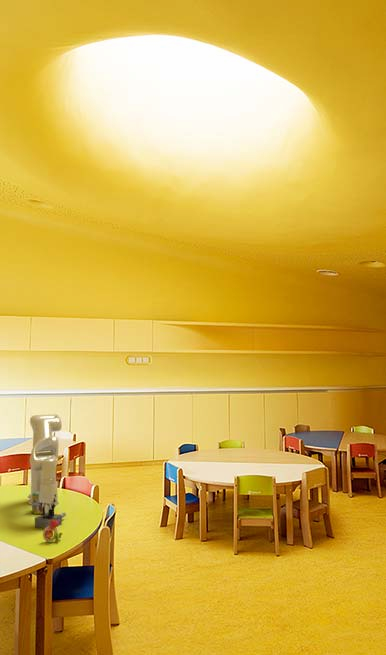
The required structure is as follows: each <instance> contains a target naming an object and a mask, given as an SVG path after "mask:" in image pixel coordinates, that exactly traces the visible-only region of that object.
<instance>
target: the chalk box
mask: <svg viewBox="0 0 386 655" xmlns="http://www.w3.org/2000/svg"><path fill="white" fill-rule="evenodd" d="M39 489H40V488H39ZM52 505H53V504H52ZM31 506H32V507H31V509H32V511H31V514H32V515H43V508H42V505H41V503H40V502H39V491H38V492H36V493H34V494H32V505H31Z"/></svg>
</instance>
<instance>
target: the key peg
mask: <svg viewBox="0 0 386 655" xmlns="http://www.w3.org/2000/svg"><path fill="white" fill-rule="evenodd" d="M49 509H50V505H49V504H46V503H45V517H44V518H51V517H52V516H51V517H49Z"/></svg>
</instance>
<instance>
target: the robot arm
mask: <svg viewBox="0 0 386 655" xmlns="http://www.w3.org/2000/svg"><path fill="white" fill-rule="evenodd" d="M29 424H30V426H31V429H32V433H33V434H32V436H33V437H32V448H31V452H30V457H29V465H30V494H29V495H27V498H28V499H29V500H28V501H27V504H28V505H30V506H32V494H34V493H36V492H38V491H39V502H40V503H41V505H42V508H43V514H42V515H43V516H44V515H45V503H46V504H49V505H50V509H49V517H51V516H54V514H55V508H56V506H57V505H59V504H60V503H59V501H58V486H57V465H58V461H59V443H60V442H59V439H58V436H55V435H53V432H60V431H61V429H62V426H63V425H62V419H61V418H60V416H59V415H58V414H56V413H55V414H40V415H39V414H36V415H31V417H30V419H29ZM39 488H40V489H39ZM52 504H53V505H52Z"/></svg>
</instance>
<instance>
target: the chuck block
mask: <svg viewBox="0 0 386 655" xmlns="http://www.w3.org/2000/svg"><path fill="white" fill-rule="evenodd" d="M66 516H67V513H66V512H61V513H60V514H59V513H54V516H52V517H51V518H44V517H45V515H44V516H43V514H40V515H38V516H36V517H34V528H37V529H41V530H44V529H45V528H46V527H48V526H51V525H50V524H49V521H50V520H51V521H52V520H54V521H57V520H58V524H59V526H60V525H62V524H63V518H65V517H66Z"/></svg>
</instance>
